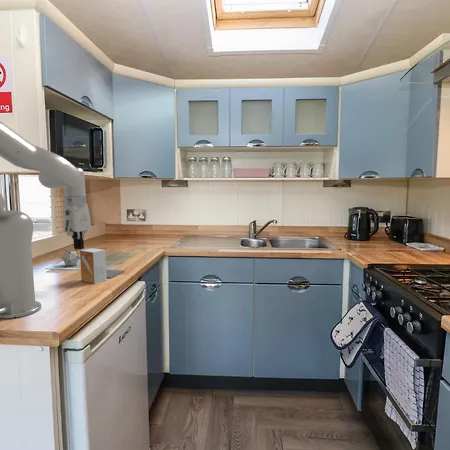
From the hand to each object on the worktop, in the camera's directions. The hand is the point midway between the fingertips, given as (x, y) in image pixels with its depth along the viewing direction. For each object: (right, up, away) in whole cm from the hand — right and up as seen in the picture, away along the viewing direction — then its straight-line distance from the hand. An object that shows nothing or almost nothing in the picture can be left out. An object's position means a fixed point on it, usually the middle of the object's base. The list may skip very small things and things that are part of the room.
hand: (79, 248), depth 128 cm
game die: (-20, -11, +36) cm, 43 cm away
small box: (+2, -14, +10) cm, 17 cm away
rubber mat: (+4, -13, +20) cm, 24 cm away
